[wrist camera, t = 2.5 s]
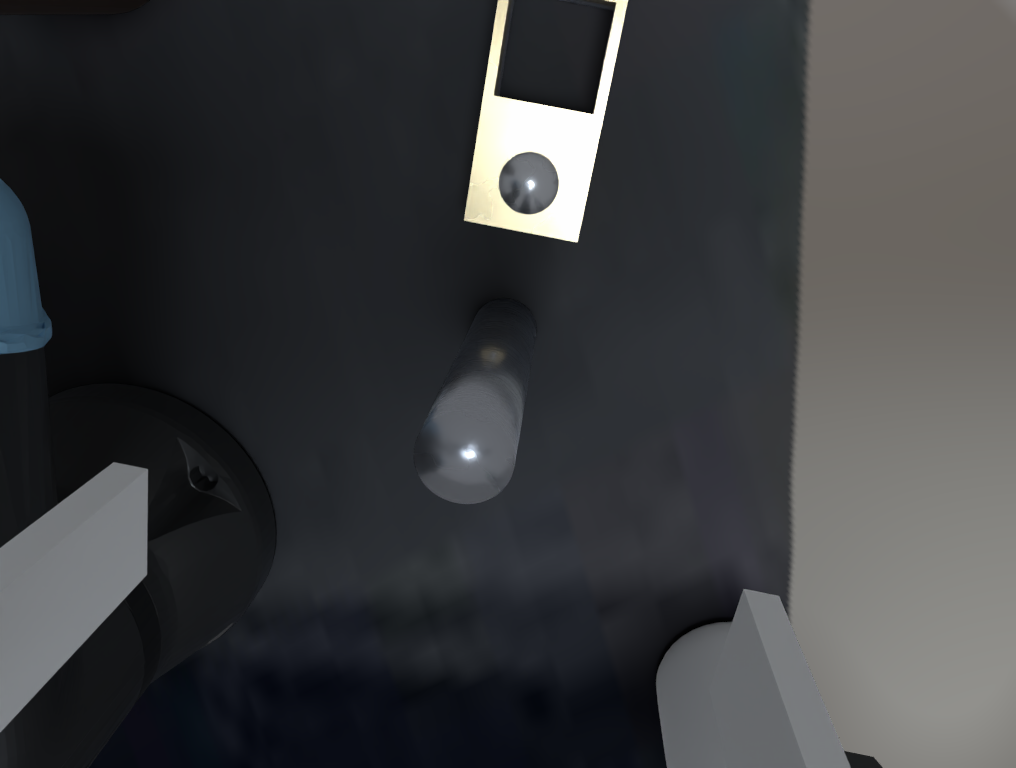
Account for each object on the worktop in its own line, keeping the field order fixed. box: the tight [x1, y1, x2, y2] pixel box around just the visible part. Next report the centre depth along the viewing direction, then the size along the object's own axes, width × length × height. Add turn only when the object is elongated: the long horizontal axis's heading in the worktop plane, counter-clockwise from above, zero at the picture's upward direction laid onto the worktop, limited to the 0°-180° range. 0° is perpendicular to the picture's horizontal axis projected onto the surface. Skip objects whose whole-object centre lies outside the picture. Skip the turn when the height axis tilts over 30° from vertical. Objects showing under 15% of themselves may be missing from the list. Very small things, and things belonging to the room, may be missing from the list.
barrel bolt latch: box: [464, 0, 628, 242], centre depth 30 cm, size 5×14×3 cm, turn 170°
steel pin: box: [414, 298, 537, 504], centre depth 29 cm, size 3×3×14 cm
